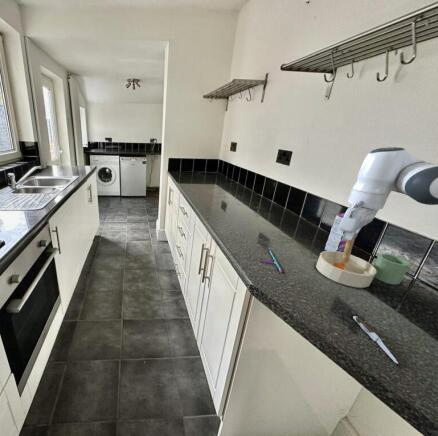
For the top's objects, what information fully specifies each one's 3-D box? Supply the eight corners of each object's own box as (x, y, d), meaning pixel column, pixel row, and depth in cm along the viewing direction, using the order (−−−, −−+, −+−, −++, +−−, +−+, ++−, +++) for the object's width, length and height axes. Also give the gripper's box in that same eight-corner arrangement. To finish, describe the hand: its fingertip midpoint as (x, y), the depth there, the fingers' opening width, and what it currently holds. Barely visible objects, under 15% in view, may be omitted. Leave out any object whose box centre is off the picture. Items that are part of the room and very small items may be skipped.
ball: (345, 271, 81) (342, 274, 80) (333, 269, 84) (331, 272, 82) (345, 262, 81) (342, 265, 79) (333, 261, 84) (331, 263, 82)
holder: (402, 280, 80) (412, 261, 76) (396, 288, 76) (407, 268, 72) (373, 269, 85) (382, 251, 82) (366, 276, 81) (375, 256, 78)
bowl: (375, 279, 80) (382, 266, 78) (360, 295, 72) (367, 281, 70) (325, 259, 91) (330, 247, 89) (307, 270, 83) (312, 257, 81)
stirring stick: (347, 265, 82) (359, 217, 77) (347, 267, 81) (359, 218, 76) (341, 263, 84) (352, 216, 78) (340, 265, 82) (352, 217, 77)
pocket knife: (351, 318, 63) (353, 313, 62) (354, 319, 63) (357, 313, 62) (394, 367, 50) (398, 360, 50) (398, 367, 50) (402, 361, 49)
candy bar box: (338, 245, 102) (351, 211, 96) (351, 250, 98) (366, 215, 92) (322, 250, 98) (335, 214, 92) (335, 255, 94) (350, 218, 88)
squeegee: (257, 248, 95) (270, 250, 94) (257, 250, 96) (270, 252, 95) (267, 269, 81) (282, 271, 80) (266, 271, 82) (281, 273, 81)
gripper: (368, 207, 66) (350, 249, 71) (388, 198, 77) (371, 235, 82) (342, 201, 71) (327, 241, 76) (364, 193, 82) (349, 228, 87)
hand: (350, 238), depth 79 cm, fingers closed on stirring stick, 2 cm apart
